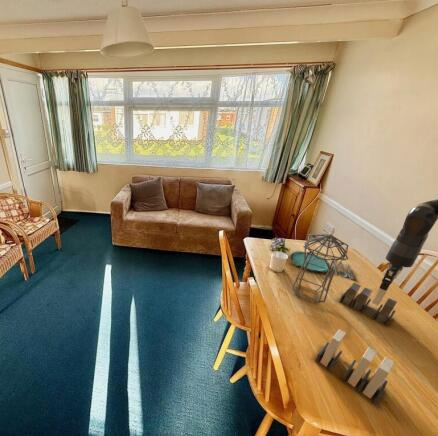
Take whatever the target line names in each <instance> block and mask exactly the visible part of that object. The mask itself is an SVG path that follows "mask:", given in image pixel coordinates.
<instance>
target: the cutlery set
mask: <svg viewBox="0 0 438 436" xmlns="http://www.w3.org/2000/svg"><path fill="white" fill-rule="evenodd" d="M304 253H305V251H301V250H300V251H293V252H292V253H291V255H290V260H292V264H293V265H294V266H295V267H298V266H299V267H300V268H301V267H302V265H303V262H304ZM311 254H312V253H309V254H308V257H307V259H306V260H307V262H308V260H309V258H310V256H311ZM317 257H319V258H323V259H324V257H323V256H322V255H318V256H317ZM315 258H316V257H315V256H314V255H312V257H311V259H310V262H309V263H312V264H315V265H318V266H321V267H324V268H327V269H328V267H327V264H326V262H325V260H322V259H318V258H317V259H315ZM313 259H315V260H313ZM311 260H312V261H311ZM326 261H327V263H328V266H329V267H330V265H331V264H330V263H329V260H326ZM307 262H305V264H304V266H303V269H304V268H305V266H306V263H307ZM339 263H340V262H339ZM312 264H308V266H307V268H306V270H308V271H311V272H316V273H327V272H328V270H327V269H324V268H321V267H318V266H315V265H312ZM334 264H335V261H334V262H333V265H334ZM339 266H340V269H341V271H339V275H340V276H341V277H342V278H347V277H349V279H350V280H352V281H353V280H354V274H353V273H352V272H351V268H350V264H347V266H346V267H347V270H348V271H347V272H348V273H346V272H345V271H344V270H343V269H344V268H343V263H342V262H341V263H340V264H339ZM336 267H337V266H336ZM336 267H335V268H336ZM334 274H335V275H336V276H338V272H337V268H336V269H335V272H334Z"/></svg>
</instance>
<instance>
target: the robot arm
mask: <svg viewBox="0 0 438 436" xmlns="http://www.w3.org/2000/svg"><path fill="white" fill-rule="evenodd" d="M437 221H438V199H431V200H428V201H424V202H421V203H418V204H416V205H414V207H412V208H411V209H410V210H409V211H408V213H407V214H406V217H405V219H404V222H403V225H402V228H401V229H400V230H399V233H398V234H397V236H396V238H395V240H394V241H393V242H392V244H391V246H390V248H389V250H388V252H387V254H386V255H385V260H386V261H387V262H389V264H388V265H387V266H386V270H385V272H384V273H383V275H384V276H383V277H382V279H381V283H380V285H379V288H380V289H383V290H385V291H386V290H387V289H388V290H389V288H390V286H391V285H392V284H393V281H394V280H396V279H397V278H398V276H399V275H400V274H401V272H402V271H403V270H404V268H412V267H413V266H414V265H415V262H416V260H417V259H418V257H419V255H420V253H421V251H422V248H423V246H424V245H425V243H426V241H427V239H428V237H429V233H430V231H431V230H432V228H433V227H434V226H435V224H436V222H437ZM394 276H395V277H394ZM386 278H387V279H390V280H387V279H386ZM389 285H390V286H389ZM388 287H389V288H388ZM388 290H387V291H388Z"/></svg>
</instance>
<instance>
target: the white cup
mask: <svg viewBox="0 0 438 436" xmlns="http://www.w3.org/2000/svg"><path fill="white" fill-rule="evenodd" d="M288 259H289V255H288V254H286V253H283V252H281V251H280V252H279V251H275V250H274V251H272V252H271V256H270V262H269V269H271V270H272V271H274V272H276V273H282V272H283V271H284V268H285V267H286V264H287V261H288Z"/></svg>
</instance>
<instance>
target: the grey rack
mask: <svg viewBox="0 0 438 436" xmlns="http://www.w3.org/2000/svg"><path fill="white" fill-rule="evenodd" d="M360 288H362V285H360V284H359V283H356V282H353V283H352V284H351V285H350V286H349V288H348V289H346V290H345V292H344V293H343V294H341V296H340V299H339V301H338V303H342V304H345V305H346V306H349V308H350V309H352V308H353V309H354V310H356V311H358V312H360V314H364V312H367V313H369V314H371V315H373V317H372V318H371V320H376V321H378V322H380V323H381V324H384V326H385V327H388V324H390V323H391V321H392V320H393V316H394V315H395V313H396V310H395V309H394V308H395V307H396V305H397V303H398V301H397V300H395V299H392V298H390V297H389V298H387V300H386V301H385V303H384V304H382V303H381V304H379V306H378V308H377V309H375V308H373V307H371V306H369V305H370V303H371V302H372V299H371V298H370V297H371V294H372V293H373V290H372V289H369V288H368V287H364V288H363V289H362V290H361V292H360Z"/></svg>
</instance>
